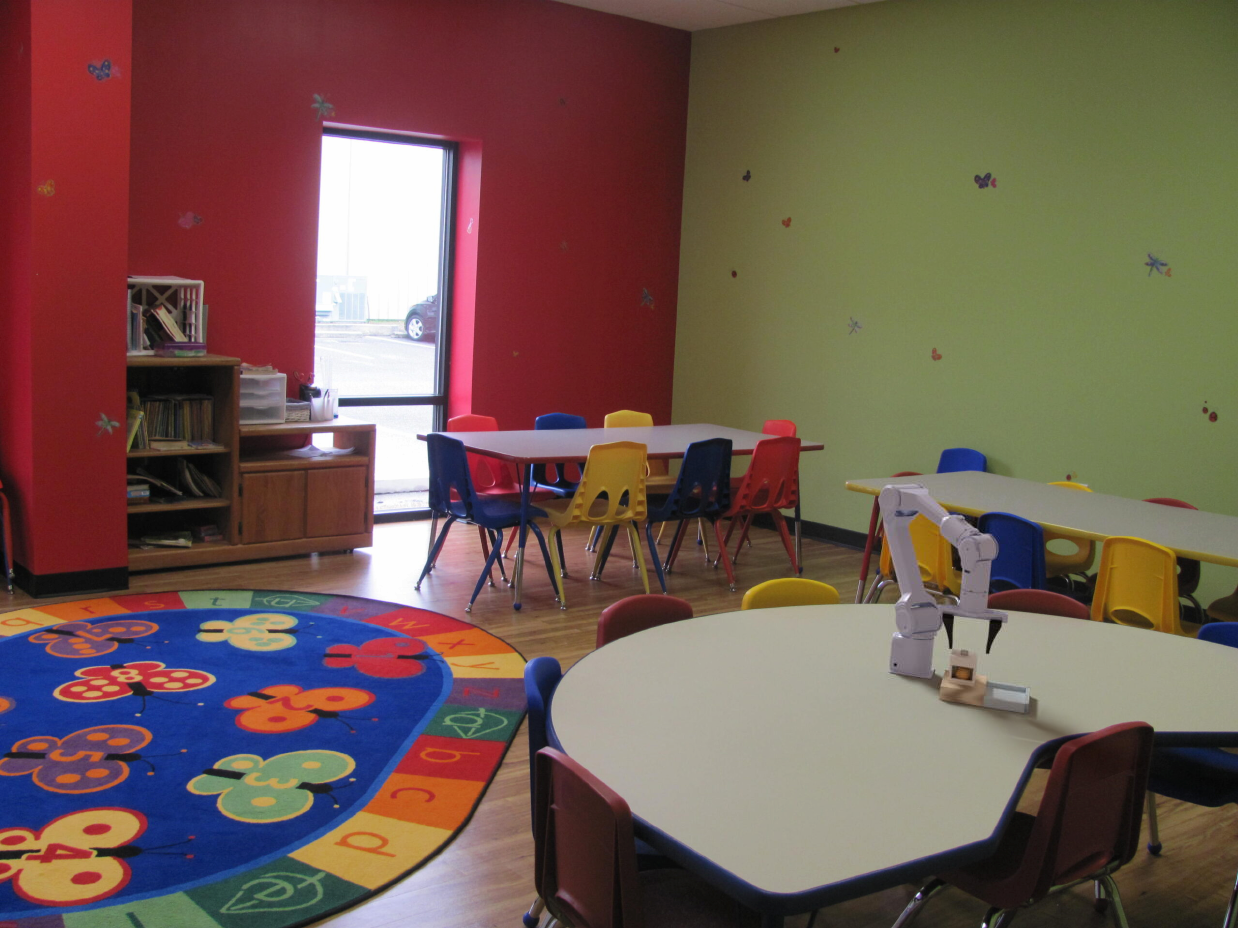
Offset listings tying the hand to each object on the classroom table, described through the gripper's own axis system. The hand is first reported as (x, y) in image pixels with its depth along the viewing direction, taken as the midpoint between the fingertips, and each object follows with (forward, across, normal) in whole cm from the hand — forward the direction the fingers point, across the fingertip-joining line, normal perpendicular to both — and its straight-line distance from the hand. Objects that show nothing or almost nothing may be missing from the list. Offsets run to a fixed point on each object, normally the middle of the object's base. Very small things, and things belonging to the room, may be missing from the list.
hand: (969, 650), depth 237 cm
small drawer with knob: (+7, -1, -1) cm, 7 cm away
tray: (+10, +9, -1) cm, 13 cm away
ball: (+5, -1, -1) cm, 6 cm away
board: (+10, 0, -1) cm, 10 cm away
